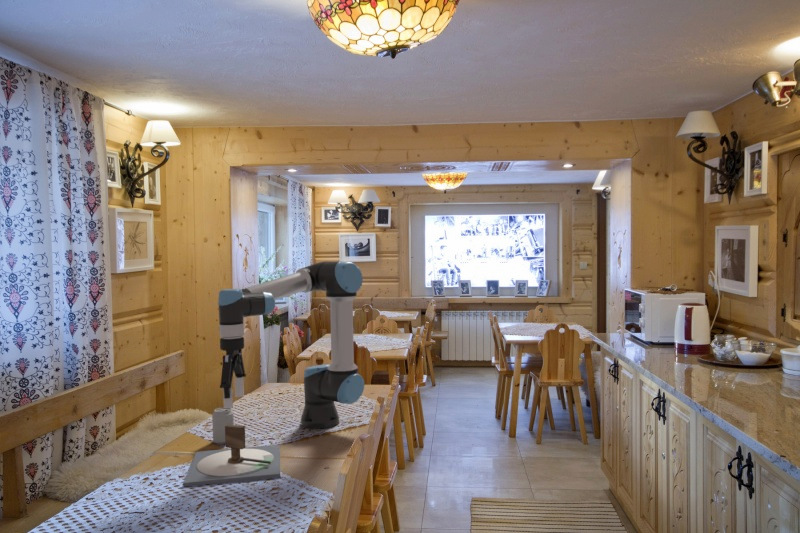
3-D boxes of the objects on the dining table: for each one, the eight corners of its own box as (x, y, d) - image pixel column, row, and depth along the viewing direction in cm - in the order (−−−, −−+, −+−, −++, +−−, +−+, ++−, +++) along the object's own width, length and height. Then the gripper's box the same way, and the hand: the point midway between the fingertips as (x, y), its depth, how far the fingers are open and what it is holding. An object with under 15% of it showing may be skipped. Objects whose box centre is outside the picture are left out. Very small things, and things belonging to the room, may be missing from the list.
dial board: (279, 447, 211) (279, 443, 211) (280, 477, 184) (280, 472, 184) (196, 455, 206) (196, 450, 206) (184, 486, 178) (184, 481, 178)
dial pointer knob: (232, 457, 198) (231, 423, 198) (274, 462, 192) (273, 427, 192) (222, 462, 194) (221, 427, 193) (265, 468, 188) (264, 432, 187)
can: (228, 445, 215) (227, 412, 215) (209, 444, 217) (208, 411, 216) (238, 438, 223) (236, 406, 222) (219, 437, 224) (218, 406, 224)
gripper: (230, 331, 206) (232, 393, 207) (208, 343, 181) (210, 413, 182) (252, 331, 206) (254, 392, 207) (233, 343, 181) (235, 412, 182)
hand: (234, 402), depth 194 cm, fingers open, 13 cm apart
